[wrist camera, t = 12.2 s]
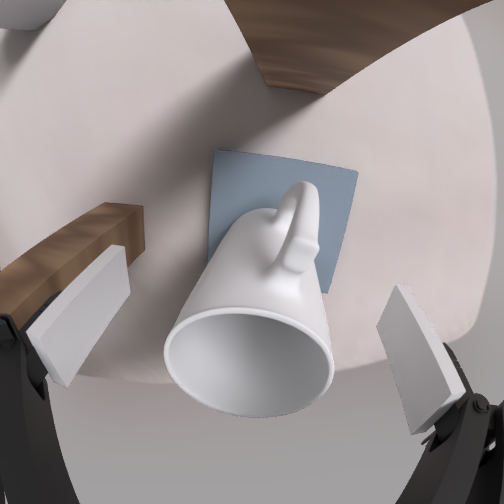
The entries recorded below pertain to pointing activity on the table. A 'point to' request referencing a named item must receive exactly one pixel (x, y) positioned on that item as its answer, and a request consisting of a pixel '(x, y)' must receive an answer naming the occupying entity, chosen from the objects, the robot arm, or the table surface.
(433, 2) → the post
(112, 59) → the table surface
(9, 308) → the corner post
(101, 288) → the robot arm
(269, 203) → the mat
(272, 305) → the mug
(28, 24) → the toilet tissue
